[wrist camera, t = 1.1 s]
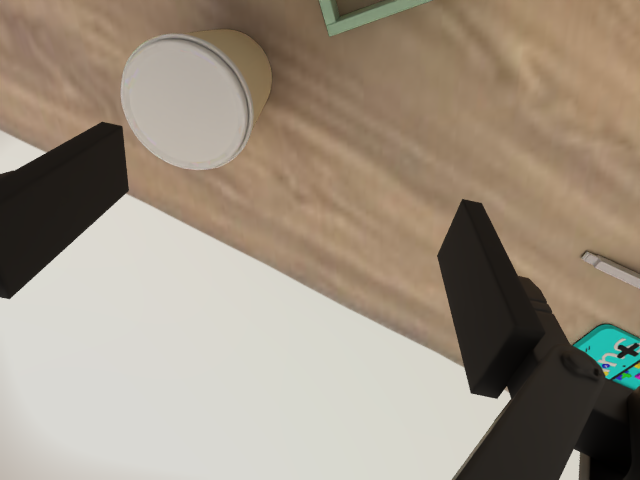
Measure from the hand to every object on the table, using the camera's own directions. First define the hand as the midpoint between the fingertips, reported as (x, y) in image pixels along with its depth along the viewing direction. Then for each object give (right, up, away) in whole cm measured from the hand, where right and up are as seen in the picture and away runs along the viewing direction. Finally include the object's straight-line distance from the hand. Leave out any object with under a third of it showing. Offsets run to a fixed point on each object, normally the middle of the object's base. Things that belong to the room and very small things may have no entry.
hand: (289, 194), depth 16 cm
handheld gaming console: (+41, -18, +37) cm, 58 cm away
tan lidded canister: (-7, +14, +22) cm, 27 cm away
